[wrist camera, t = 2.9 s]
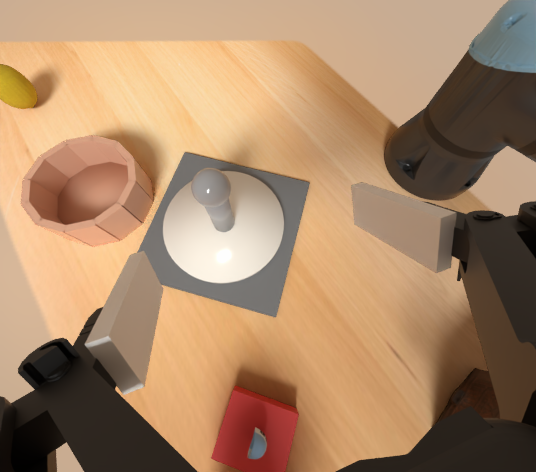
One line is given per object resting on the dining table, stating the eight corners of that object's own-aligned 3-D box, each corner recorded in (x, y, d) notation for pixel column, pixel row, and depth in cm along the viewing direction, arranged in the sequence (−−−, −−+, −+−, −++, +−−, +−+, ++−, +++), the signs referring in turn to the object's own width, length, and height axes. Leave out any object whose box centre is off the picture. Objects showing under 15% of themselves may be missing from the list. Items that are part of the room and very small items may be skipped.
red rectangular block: (295, 407, 32) (303, 425, 26) (279, 472, 29) (284, 509, 24) (235, 385, 32) (229, 397, 27) (215, 447, 30) (204, 476, 24)
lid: (191, 164, 43) (162, 97, 30) (295, 190, 41) (308, 130, 29) (146, 264, 37) (86, 232, 24) (265, 298, 35) (267, 282, 23)
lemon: (54, 102, 48) (15, 59, 40) (33, 122, 46) (-13, 82, 38) (32, 92, 48) (-11, 48, 41) (10, 112, 47) (-39, 70, 39)
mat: (185, 154, 44) (184, 152, 44) (309, 184, 42) (309, 182, 42) (128, 275, 37) (127, 274, 36) (275, 317, 35) (275, 317, 35)
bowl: (86, 152, 44) (59, 126, 38) (167, 173, 43) (152, 149, 37) (36, 230, 39) (-2, 214, 33) (126, 256, 38) (103, 243, 32)
